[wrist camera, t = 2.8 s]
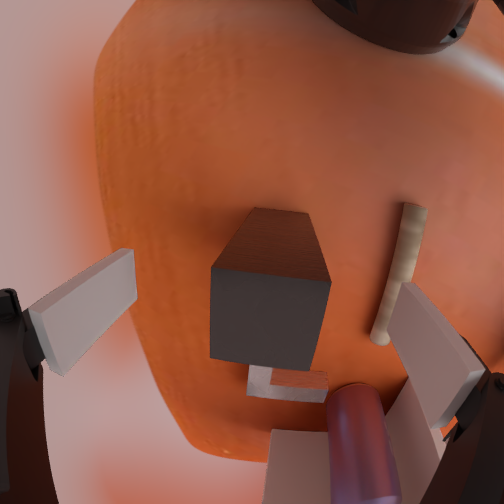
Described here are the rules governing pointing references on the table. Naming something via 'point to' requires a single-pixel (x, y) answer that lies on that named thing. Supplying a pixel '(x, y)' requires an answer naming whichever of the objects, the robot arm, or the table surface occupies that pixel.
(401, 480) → the corner shelf
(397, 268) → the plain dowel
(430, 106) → the table surface
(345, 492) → the beverage can
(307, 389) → the grey angled piece
